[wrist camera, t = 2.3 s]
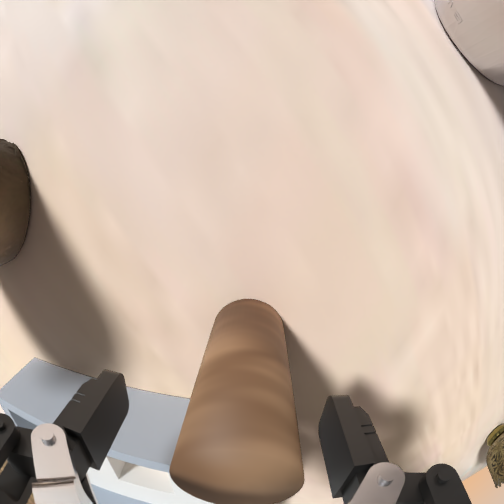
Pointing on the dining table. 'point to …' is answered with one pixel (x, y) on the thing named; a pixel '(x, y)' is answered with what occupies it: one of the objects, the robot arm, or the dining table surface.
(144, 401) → the box
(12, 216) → the pillar candle
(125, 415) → the robot arm
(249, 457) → the peg
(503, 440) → the mottled brown rounded lump
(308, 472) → the dining table surface
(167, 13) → the dining table surface
